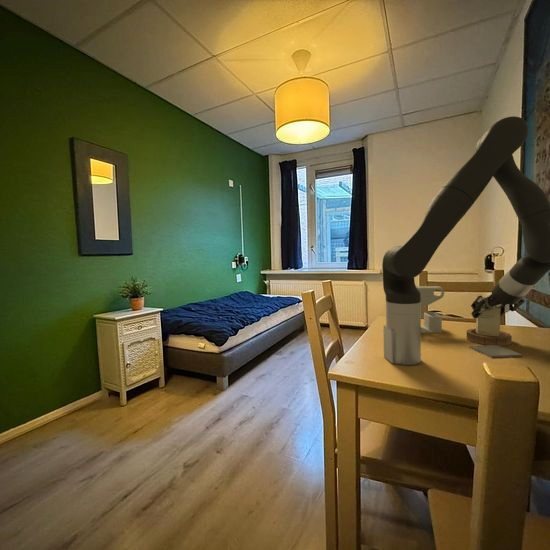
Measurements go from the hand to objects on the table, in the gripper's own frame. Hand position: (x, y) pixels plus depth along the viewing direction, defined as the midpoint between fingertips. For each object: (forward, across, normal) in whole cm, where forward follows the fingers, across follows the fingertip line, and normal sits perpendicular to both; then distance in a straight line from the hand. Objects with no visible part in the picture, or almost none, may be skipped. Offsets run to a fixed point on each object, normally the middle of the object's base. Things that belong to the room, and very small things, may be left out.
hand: (484, 316), depth 100 cm
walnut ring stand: (+5, 0, +7) cm, 8 cm away
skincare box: (+3, 0, +6) cm, 6 cm away
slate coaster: (-3, +6, +15) cm, 16 cm away
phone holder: (+17, +16, -5) cm, 24 cm away
